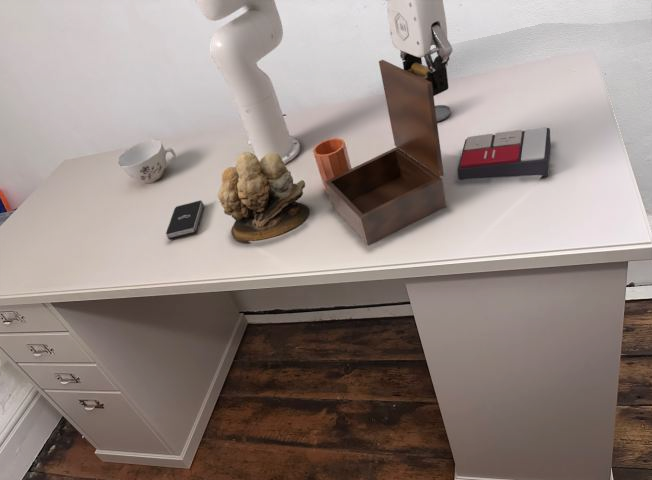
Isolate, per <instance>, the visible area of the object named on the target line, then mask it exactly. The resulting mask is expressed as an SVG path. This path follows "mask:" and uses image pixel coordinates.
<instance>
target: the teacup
mask: <svg viewBox="0 0 652 480" xmlns="http://www.w3.org/2000/svg"><path fill="white" fill-rule="evenodd" d="M167 153H170V154H172V158H171V159H170V160H169V161H168V162H167ZM175 160H176V153H175V150H174V149H173V148H172V147H166V148H164V145H163V143H162V142H161V141H159V140H158V139H148V140H144V141H141V142H138V143H137V144H135V145H133V146H132V147H130V148H128V149H126V150H125V151H124V152H123V153H122V154H120V156H119V157H118V160H117V161H118V162H117V163H118V166H119V167H120V168H121V170H122V171H123V172H124V173H126V175H128V176H129V177H130V178H132V179H134V180H135V181H138V182H141V183H144V184H152V183H154V182H156V181H158V180H159V179H161V178H162V176H163V174H164V172H165V169H166V168H167V167H169V166H170V165H171V164H174V162H175Z"/></svg>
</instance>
